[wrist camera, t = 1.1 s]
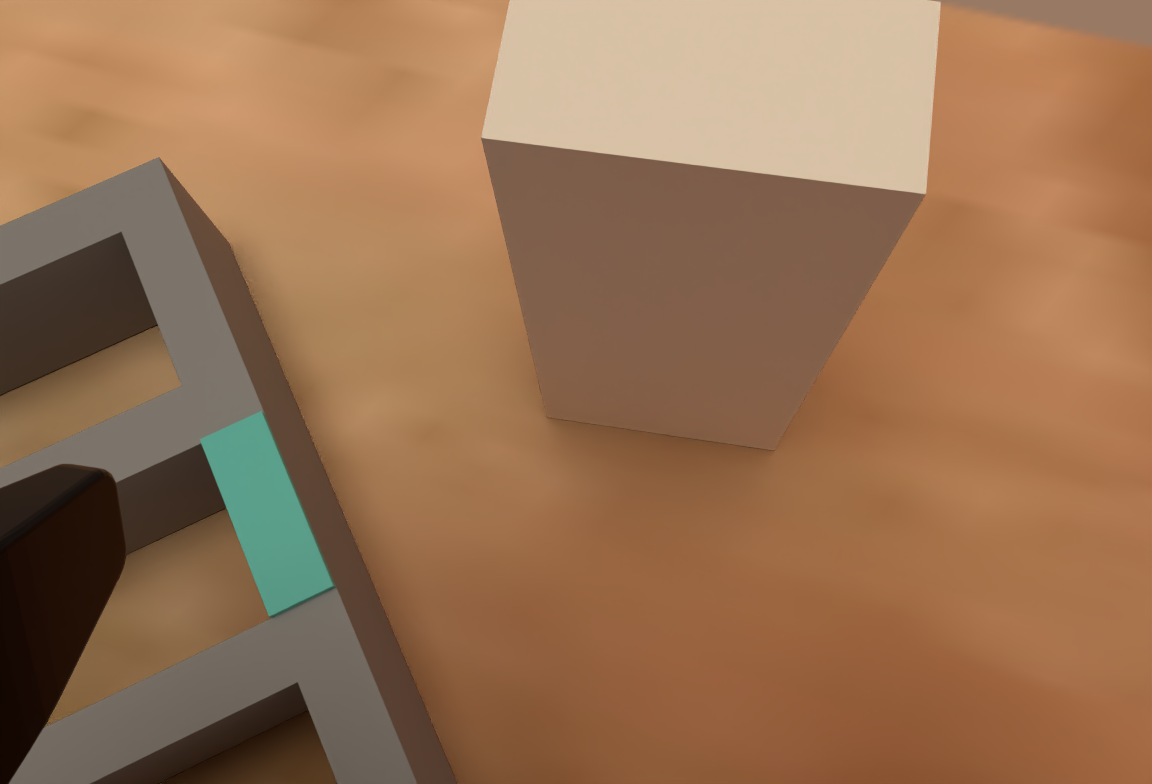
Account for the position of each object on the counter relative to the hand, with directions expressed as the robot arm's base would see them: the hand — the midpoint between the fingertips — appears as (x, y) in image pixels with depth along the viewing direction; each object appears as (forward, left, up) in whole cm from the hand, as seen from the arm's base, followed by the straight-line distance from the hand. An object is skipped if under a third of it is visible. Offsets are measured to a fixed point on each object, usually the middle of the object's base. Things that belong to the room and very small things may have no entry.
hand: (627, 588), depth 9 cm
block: (+6, -1, -14) cm, 15 cm away
